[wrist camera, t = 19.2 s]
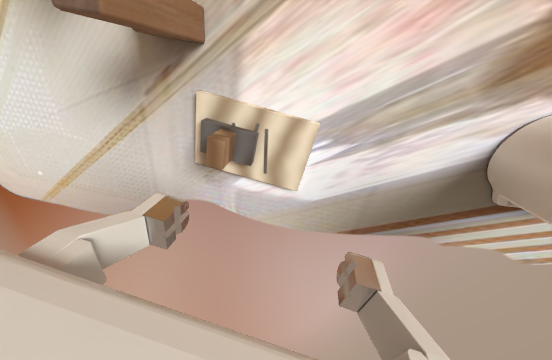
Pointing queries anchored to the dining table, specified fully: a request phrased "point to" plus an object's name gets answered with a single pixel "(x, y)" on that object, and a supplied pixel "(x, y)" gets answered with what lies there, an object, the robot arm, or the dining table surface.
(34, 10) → the dining table surface
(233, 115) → the birch board
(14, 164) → the dining table surface
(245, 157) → the block
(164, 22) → the wooden block
